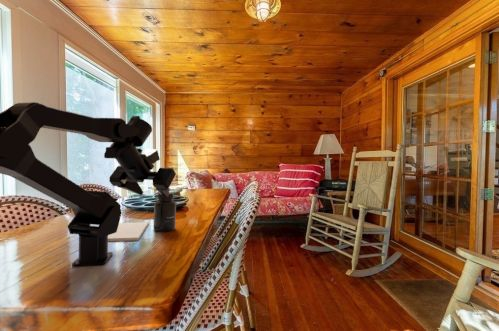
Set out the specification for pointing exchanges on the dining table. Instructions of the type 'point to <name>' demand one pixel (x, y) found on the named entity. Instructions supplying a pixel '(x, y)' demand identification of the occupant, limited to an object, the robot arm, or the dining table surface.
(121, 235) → the pale grey mat
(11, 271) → the dining table surface
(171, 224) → the supplement bottle
